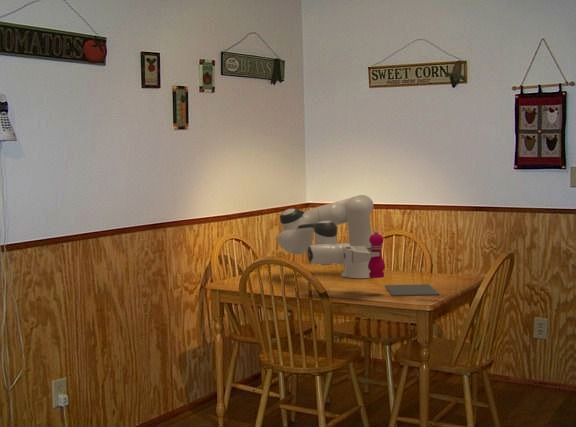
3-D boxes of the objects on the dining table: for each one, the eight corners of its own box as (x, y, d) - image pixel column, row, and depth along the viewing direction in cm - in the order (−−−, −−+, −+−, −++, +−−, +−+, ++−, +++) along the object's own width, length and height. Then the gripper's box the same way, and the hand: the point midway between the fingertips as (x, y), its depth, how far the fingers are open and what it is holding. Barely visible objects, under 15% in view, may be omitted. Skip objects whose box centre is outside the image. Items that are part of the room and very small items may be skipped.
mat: (384, 286, 354) (384, 285, 354) (429, 285, 354) (429, 284, 354) (392, 296, 332) (392, 294, 332) (439, 295, 332) (439, 293, 332)
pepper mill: (370, 278, 332) (370, 231, 330) (366, 275, 339) (365, 229, 337) (387, 277, 333) (387, 230, 331) (382, 274, 340) (382, 228, 338)
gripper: (343, 257, 345) (375, 256, 346) (348, 264, 325) (381, 264, 325) (343, 243, 345) (375, 242, 345) (348, 249, 324) (381, 249, 325)
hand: (378, 253), depth 335 cm, fingers closed on pepper mill, 4 cm apart
